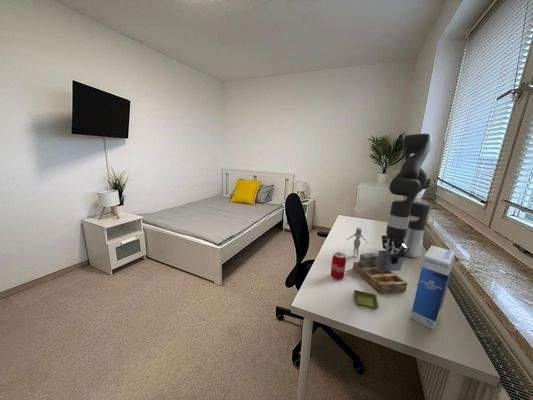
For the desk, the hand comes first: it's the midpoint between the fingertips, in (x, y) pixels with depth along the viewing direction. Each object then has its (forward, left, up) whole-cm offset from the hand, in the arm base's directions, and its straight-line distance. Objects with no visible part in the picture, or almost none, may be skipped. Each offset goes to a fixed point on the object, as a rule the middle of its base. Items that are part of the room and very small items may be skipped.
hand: (390, 261), depth 94 cm
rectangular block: (+1, 0, -3) cm, 4 cm away
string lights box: (-3, +17, -13) cm, 22 cm away
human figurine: (-2, -29, -13) cm, 31 cm away
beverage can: (+19, -11, -13) cm, 25 cm away
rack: (0, -7, -13) cm, 15 cm away
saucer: (+16, +7, -14) cm, 22 cm away
